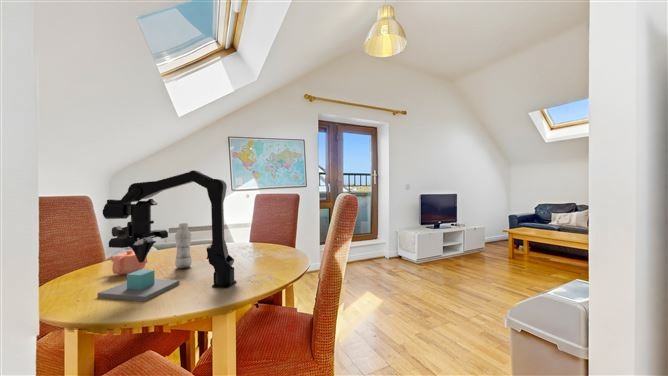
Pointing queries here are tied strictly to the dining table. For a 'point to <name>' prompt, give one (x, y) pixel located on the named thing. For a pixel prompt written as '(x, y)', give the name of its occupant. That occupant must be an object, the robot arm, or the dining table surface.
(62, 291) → the dining table surface
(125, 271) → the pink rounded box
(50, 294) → the dining table surface
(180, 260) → the plastic bottle
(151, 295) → the base plate
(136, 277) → the turquoise cube
